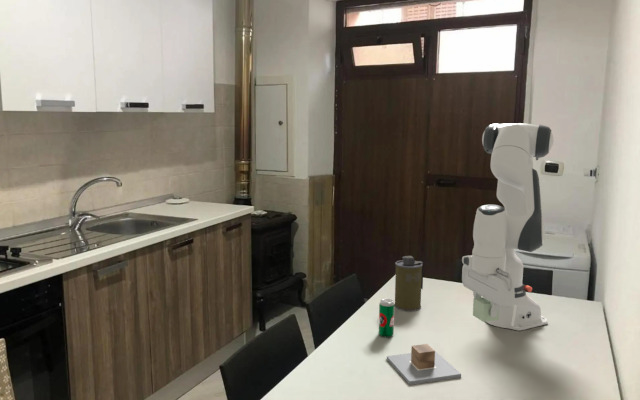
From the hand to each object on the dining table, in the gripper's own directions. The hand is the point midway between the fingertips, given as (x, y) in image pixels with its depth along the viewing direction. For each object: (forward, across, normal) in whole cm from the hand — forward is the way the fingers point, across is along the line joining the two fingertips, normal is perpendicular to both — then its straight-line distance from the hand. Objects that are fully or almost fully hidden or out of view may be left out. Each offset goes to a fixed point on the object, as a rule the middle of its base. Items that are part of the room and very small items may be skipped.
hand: (485, 311), depth 145 cm
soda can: (+19, +34, +15) cm, 42 cm away
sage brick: (+2, 0, 0) cm, 2 cm away
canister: (+19, +57, -4) cm, 60 cm away
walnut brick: (+18, +9, +14) cm, 25 cm away
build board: (+19, +9, +14) cm, 25 cm away
